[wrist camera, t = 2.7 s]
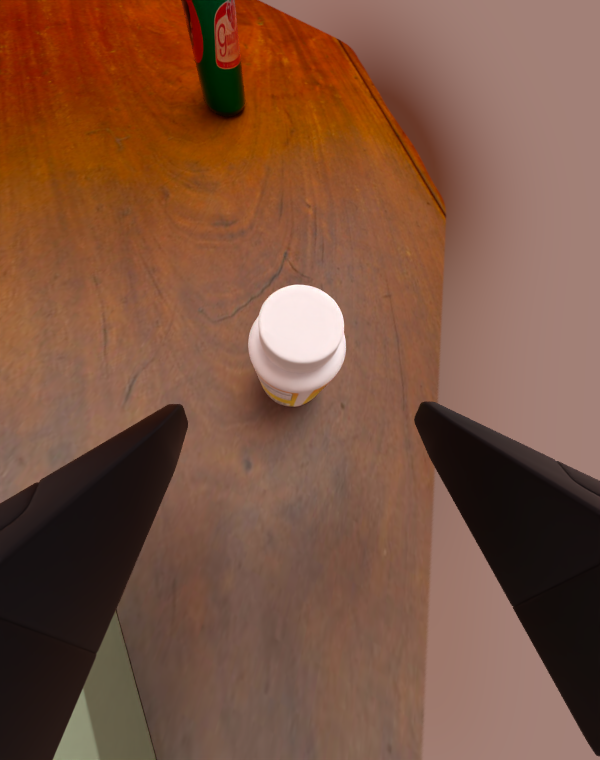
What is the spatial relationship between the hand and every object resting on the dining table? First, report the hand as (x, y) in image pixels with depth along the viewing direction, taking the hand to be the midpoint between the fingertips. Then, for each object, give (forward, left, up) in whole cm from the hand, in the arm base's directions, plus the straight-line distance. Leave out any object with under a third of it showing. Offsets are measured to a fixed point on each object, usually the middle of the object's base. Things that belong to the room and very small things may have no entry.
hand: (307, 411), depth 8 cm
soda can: (+40, -10, -11) cm, 42 cm away
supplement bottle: (+4, -2, -11) cm, 12 cm away
